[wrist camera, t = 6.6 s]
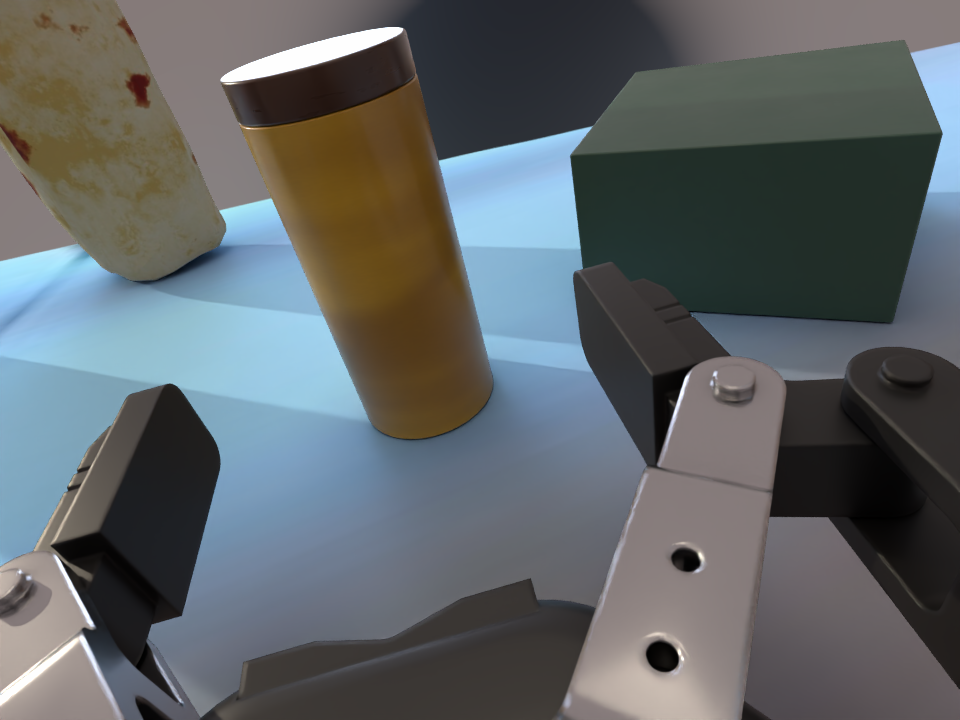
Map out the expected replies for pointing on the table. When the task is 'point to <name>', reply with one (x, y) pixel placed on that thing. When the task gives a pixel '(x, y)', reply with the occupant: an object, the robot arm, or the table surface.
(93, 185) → the food model
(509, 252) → the table surface
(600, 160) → the block
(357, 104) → the lidded jar
